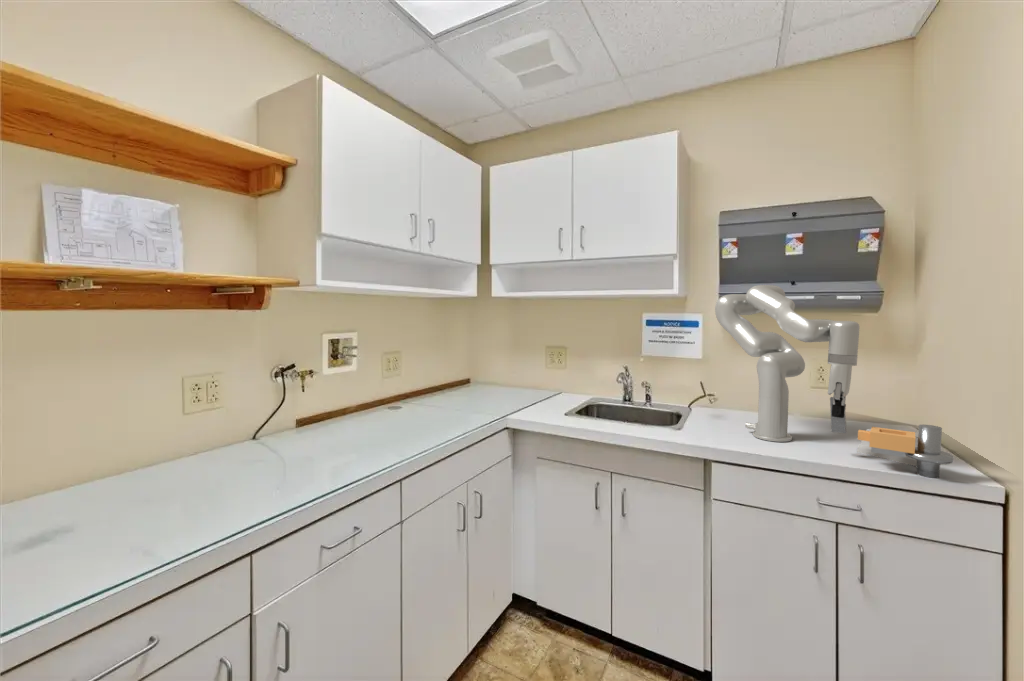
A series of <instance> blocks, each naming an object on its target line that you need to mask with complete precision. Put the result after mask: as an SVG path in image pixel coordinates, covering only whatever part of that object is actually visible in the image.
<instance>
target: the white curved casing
mask: <svg viewBox="0 0 1024 681" xmlns="http://www.w3.org/2000/svg"><path fill="white" fill-rule="evenodd" d="M865 431H871V428H867V429H865ZM869 446H870V441H863V440H860V444H859V445H858V446H857V449H856V452H857V453H859V452H860V454H863V455H864V454H865V455H868V454H869V455H868V456H872V457H876V458H881V459H884V458H885V459H884V460H888V461H892V460H893V461H892V462H896V461H897V463H900V462H901V464H904V463H905V465H908V464H909V465H908V466H912V465H913V467H916V466H917V460H916V459H913V458H910V457H908V456H906V455H905V457H899V456H893V455H887V454H880V453H874V452H871V449H872V447H869ZM915 447H918V436H916V435H915Z"/></svg>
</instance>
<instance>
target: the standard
mask: <svg viewBox="0 0 1024 681" xmlns="http://www.w3.org/2000/svg"><path fill="white" fill-rule="evenodd" d="M942 432H943V428H942V427H941V426H938V425H933V424H918V432H917V433H918V435H917V437H918V447H915V454H913V453H906V452H900V451H893V450H887V449H881V448H874V447H872V449H871V452H874V453H880V454H887V455H893V456H899V457H905V455H906V456H908V457H910V458H913V459H916V460H917V467H916V466H915V467H916V469H915V470H916V471H915V472H916V473H915V474H917V476H921V477H924V478H925V477H926V478H930V479H931V478H932V479H938V478H940V471H941V470H940V466H941V464H942V465H943V464H945V465H947V464H948V465H949V464H952V463H954V455H952V454H951V453H948V452H945V451H942V449H941V448H942Z"/></svg>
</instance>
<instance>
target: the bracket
mask: <svg viewBox="0 0 1024 681" xmlns="http://www.w3.org/2000/svg"><path fill="white" fill-rule="evenodd" d="M870 429H871V431H866V429H865V430H864V429H863V430H862V429H858V430H857V440H859V441H862V440H863V441H870V446H869V447H874V448H881V449H887V450H893V451H900V452H906V453H913V454H915V436H916V431H909V430H907V431H906V430H902V429H893V428H887V427H886V428H885V427H878V426H871V428H870Z"/></svg>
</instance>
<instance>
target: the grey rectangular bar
mask: <svg viewBox="0 0 1024 681" xmlns="http://www.w3.org/2000/svg"><path fill="white" fill-rule="evenodd" d="M829 401H830V403H829V406H830V422H831V423H830V426H831V429H830V430H831V433H839V434H846V433H847V418H846V416H847V415H846V409H845V410H844V418H839V417H832V404H833V396H831V397H830V398H829ZM845 404H846V400H845V398H844V406H845Z"/></svg>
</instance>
